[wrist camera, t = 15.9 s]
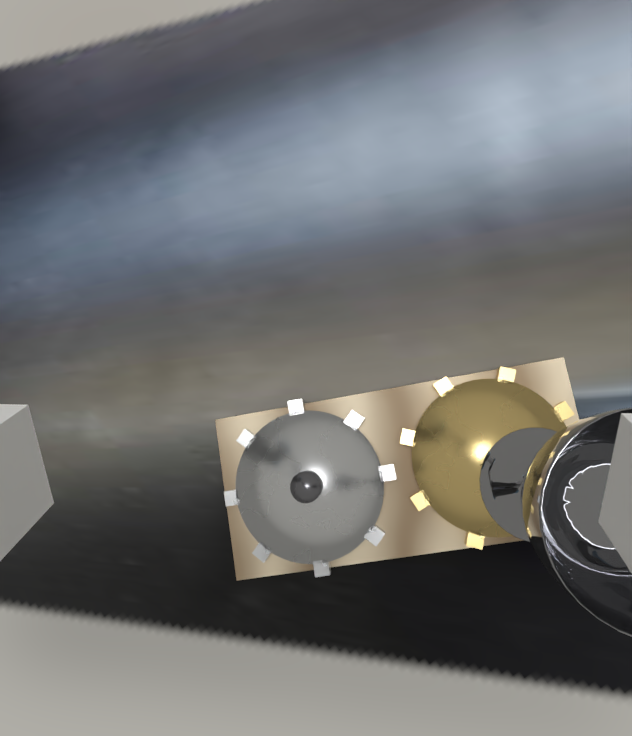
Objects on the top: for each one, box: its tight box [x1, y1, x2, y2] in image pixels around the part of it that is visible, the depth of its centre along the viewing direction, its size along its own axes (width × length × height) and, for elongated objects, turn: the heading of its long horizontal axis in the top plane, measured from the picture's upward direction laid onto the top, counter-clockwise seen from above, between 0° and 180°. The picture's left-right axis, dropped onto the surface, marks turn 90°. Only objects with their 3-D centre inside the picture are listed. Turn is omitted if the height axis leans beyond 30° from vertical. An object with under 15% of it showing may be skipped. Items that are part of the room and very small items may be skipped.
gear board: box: [215, 357, 579, 581], centre depth 34 cm, size 24×12×4 cm, turn 100°
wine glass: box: [479, 407, 632, 637], centre depth 25 cm, size 8×8×15 cm
